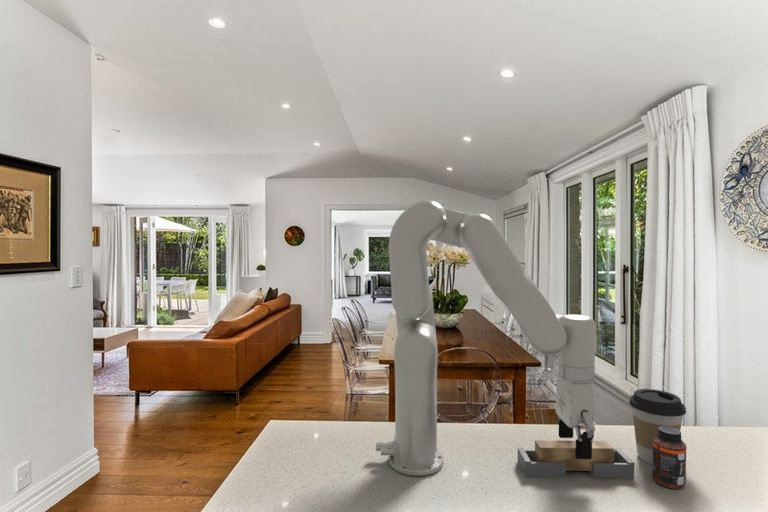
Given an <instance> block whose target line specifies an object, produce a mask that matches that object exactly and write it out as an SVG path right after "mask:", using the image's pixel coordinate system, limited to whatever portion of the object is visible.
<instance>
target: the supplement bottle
mask: <svg viewBox="0 0 768 512" xmlns="http://www.w3.org/2000/svg"><path fill="white" fill-rule="evenodd" d="M658 434H659V435H658V436H656V437H654V439H653V463H652V464H651V465H652V467H651V468H652V469H651V475H652V479H653V480H654V481H655V482H656V483H657V484H659V485H660V486H662V487H665V488H668V489H673V490H681V489H683V488H684V487H685V486H686V481H687V479H686V476H687V445H686V444H687V443H685V442H684V441H683V440H682V431H681V430H680V431H679V430H678V429H676V428H672V427H667V426H662V427H659V432H658Z"/></svg>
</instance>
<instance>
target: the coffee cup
mask: <svg viewBox="0 0 768 512" xmlns="http://www.w3.org/2000/svg"><path fill="white" fill-rule="evenodd" d="M628 403H629V405H630V406H631V409H632V419H633V427H634V436H635V445H636V453H637V455H638V458H639V459H640V460H641V461H642V462H644V463H646V464H650V465H652V463H653V439H654V437H656V436H658V435H659V434H658V432H659V427H662V426H667V427H672V428H676V429H678V430H679V431H681V428H682V423H683V418H684V415H686V414H687V410H686V409H687V408H686V406H685V404H684V403H682V399H681V398H680V397H679V396H678V395H677V394H674V393H672V392H668V391H663V390H659V389H652V388H641V389H639V388H638V389H637V390H635V391H634V392H633V394H632V395H631V396H630V397H629V401H628Z"/></svg>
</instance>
